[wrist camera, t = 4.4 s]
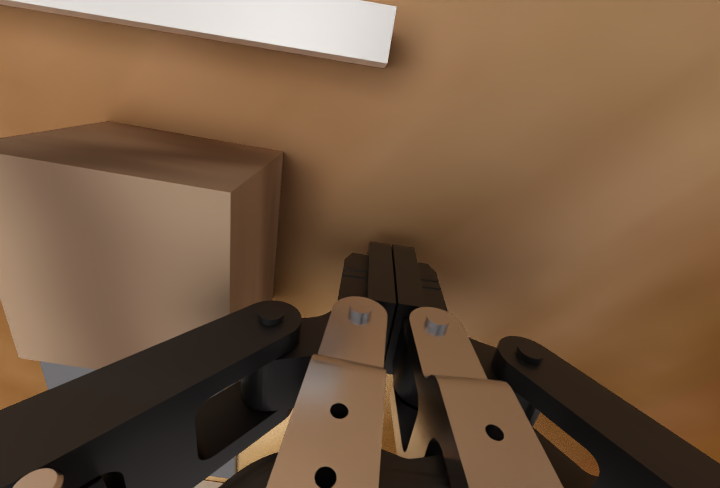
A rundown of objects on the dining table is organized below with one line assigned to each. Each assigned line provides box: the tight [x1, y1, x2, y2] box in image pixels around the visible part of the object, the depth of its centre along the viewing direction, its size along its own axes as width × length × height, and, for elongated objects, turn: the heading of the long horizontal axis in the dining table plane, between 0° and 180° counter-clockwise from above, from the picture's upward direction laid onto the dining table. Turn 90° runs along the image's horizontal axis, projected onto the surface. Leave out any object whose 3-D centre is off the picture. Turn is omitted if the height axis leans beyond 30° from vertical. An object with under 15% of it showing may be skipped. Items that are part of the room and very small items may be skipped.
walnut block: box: [0, 121, 283, 389], centre depth 11 cm, size 6×6×5 cm
